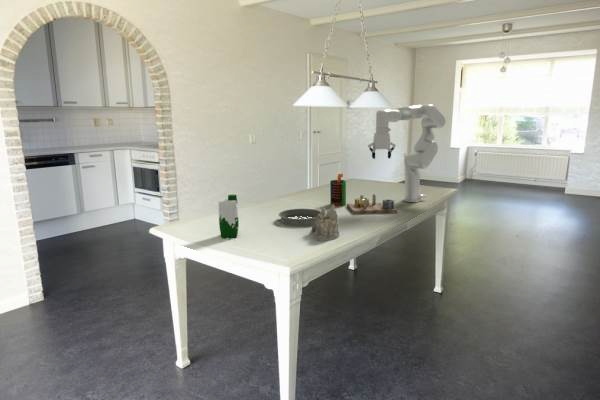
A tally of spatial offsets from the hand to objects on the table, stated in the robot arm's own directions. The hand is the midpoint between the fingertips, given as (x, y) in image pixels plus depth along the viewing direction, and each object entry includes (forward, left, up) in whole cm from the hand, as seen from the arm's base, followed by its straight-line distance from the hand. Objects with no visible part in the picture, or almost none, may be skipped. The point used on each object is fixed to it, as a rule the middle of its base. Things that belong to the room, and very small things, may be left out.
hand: (381, 158), depth 256 cm
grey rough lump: (+46, +62, -30) cm, 83 cm away
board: (+9, +12, -30) cm, 33 cm away
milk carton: (+91, +58, -30) cm, 112 cm away
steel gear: (0, +17, -28) cm, 33 cm away
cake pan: (+54, +33, -31) cm, 70 cm away
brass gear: (+14, +8, -28) cm, 32 cm away
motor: (+26, -6, -30) cm, 40 cm away
